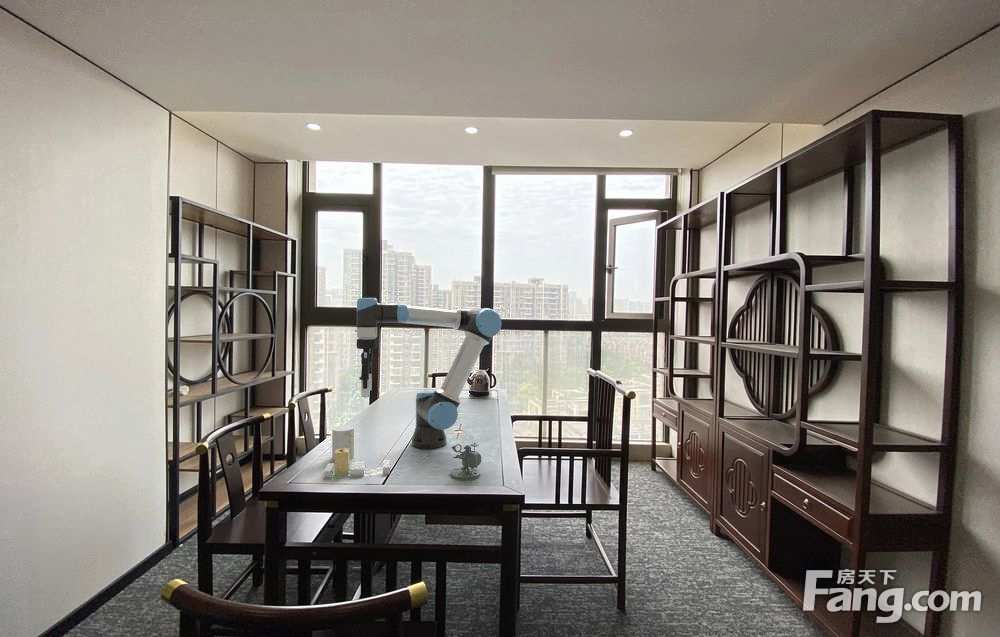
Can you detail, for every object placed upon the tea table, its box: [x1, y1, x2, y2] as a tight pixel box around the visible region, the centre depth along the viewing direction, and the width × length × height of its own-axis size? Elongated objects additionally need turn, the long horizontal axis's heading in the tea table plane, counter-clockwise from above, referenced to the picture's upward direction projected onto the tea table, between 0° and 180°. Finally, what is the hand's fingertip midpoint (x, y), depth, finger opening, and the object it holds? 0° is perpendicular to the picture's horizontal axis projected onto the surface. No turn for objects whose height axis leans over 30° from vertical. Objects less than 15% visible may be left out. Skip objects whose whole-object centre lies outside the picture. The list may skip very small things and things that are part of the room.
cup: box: [331, 425, 355, 461], centre depth 178 cm, size 8×8×12 cm
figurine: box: [450, 442, 482, 481], centre depth 162 cm, size 11×11×12 cm
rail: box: [323, 459, 391, 480], centre depth 162 cm, size 22×8×3 cm, turn 102°
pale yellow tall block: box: [334, 448, 351, 475], centre depth 161 cm, size 4×4×8 cm
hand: (366, 393), depth 173 cm, fingers open, 13 cm apart
